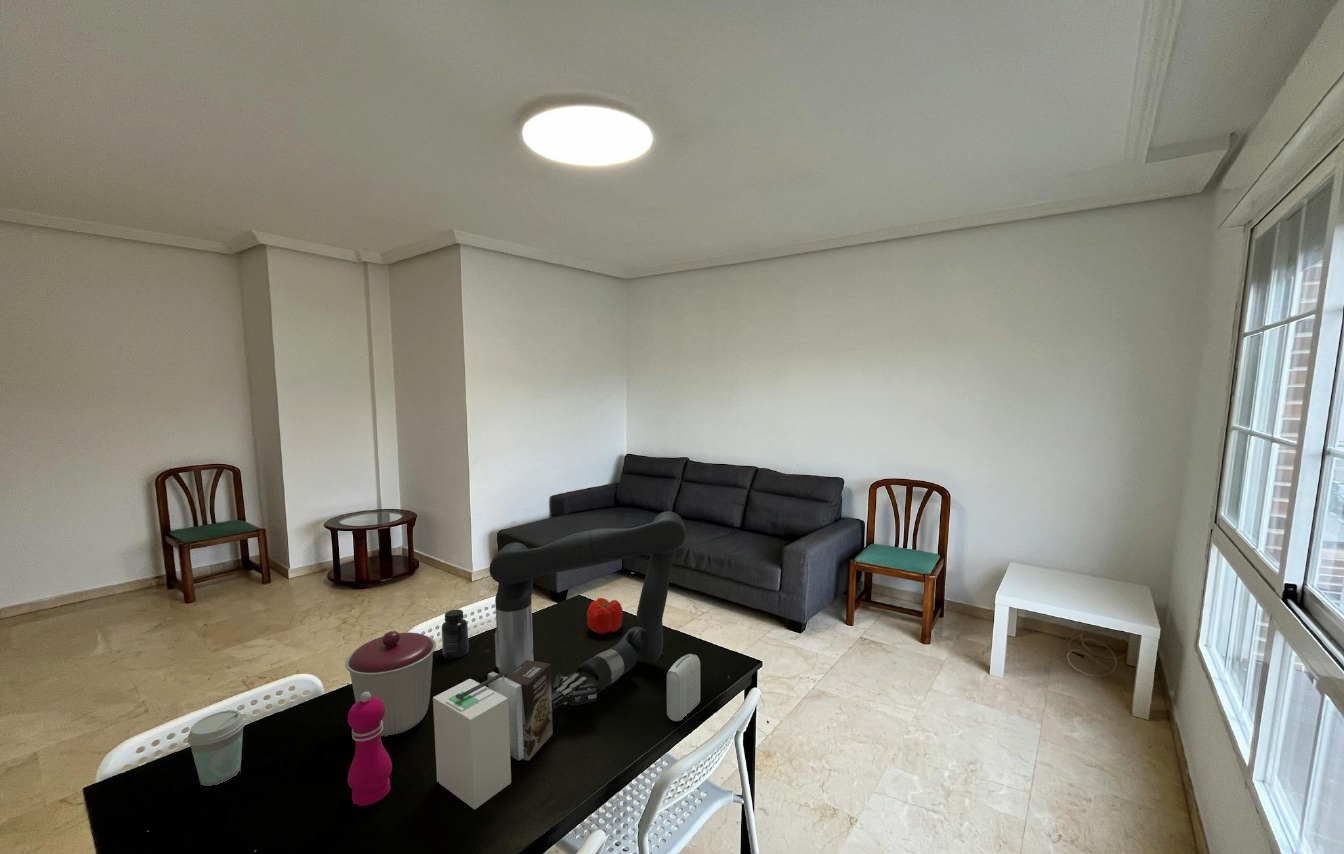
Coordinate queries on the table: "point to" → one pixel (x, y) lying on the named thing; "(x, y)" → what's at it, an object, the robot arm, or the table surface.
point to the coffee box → (534, 704)
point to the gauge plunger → (514, 707)
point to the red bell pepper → (604, 616)
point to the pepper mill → (368, 752)
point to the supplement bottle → (454, 635)
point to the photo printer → (683, 687)
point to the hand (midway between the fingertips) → (547, 705)
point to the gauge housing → (472, 742)
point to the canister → (395, 677)
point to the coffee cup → (217, 746)
